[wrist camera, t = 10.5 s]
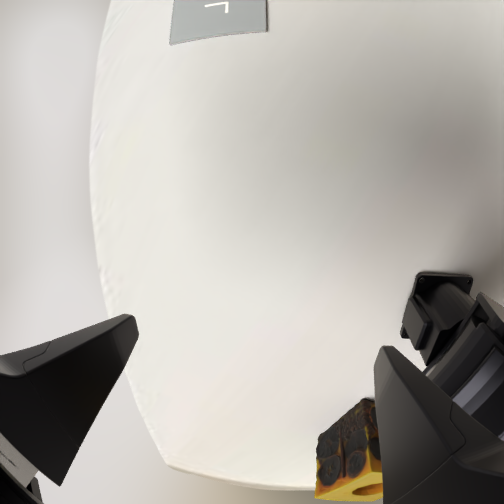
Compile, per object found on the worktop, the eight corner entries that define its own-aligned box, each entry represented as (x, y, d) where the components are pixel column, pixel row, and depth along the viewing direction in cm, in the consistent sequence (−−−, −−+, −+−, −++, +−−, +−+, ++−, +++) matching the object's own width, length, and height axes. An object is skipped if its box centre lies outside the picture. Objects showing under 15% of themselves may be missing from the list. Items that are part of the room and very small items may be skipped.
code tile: (264, -32, 13) (264, -34, 12) (266, 31, 15) (266, 30, 15) (178, -18, 14) (176, -19, 14) (170, 45, 17) (169, 44, 16)
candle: (362, 396, 25) (370, 470, 16) (418, 410, 25) (433, 472, 16) (315, 436, 29) (310, 498, 20) (370, 447, 29) (373, 502, 20)
